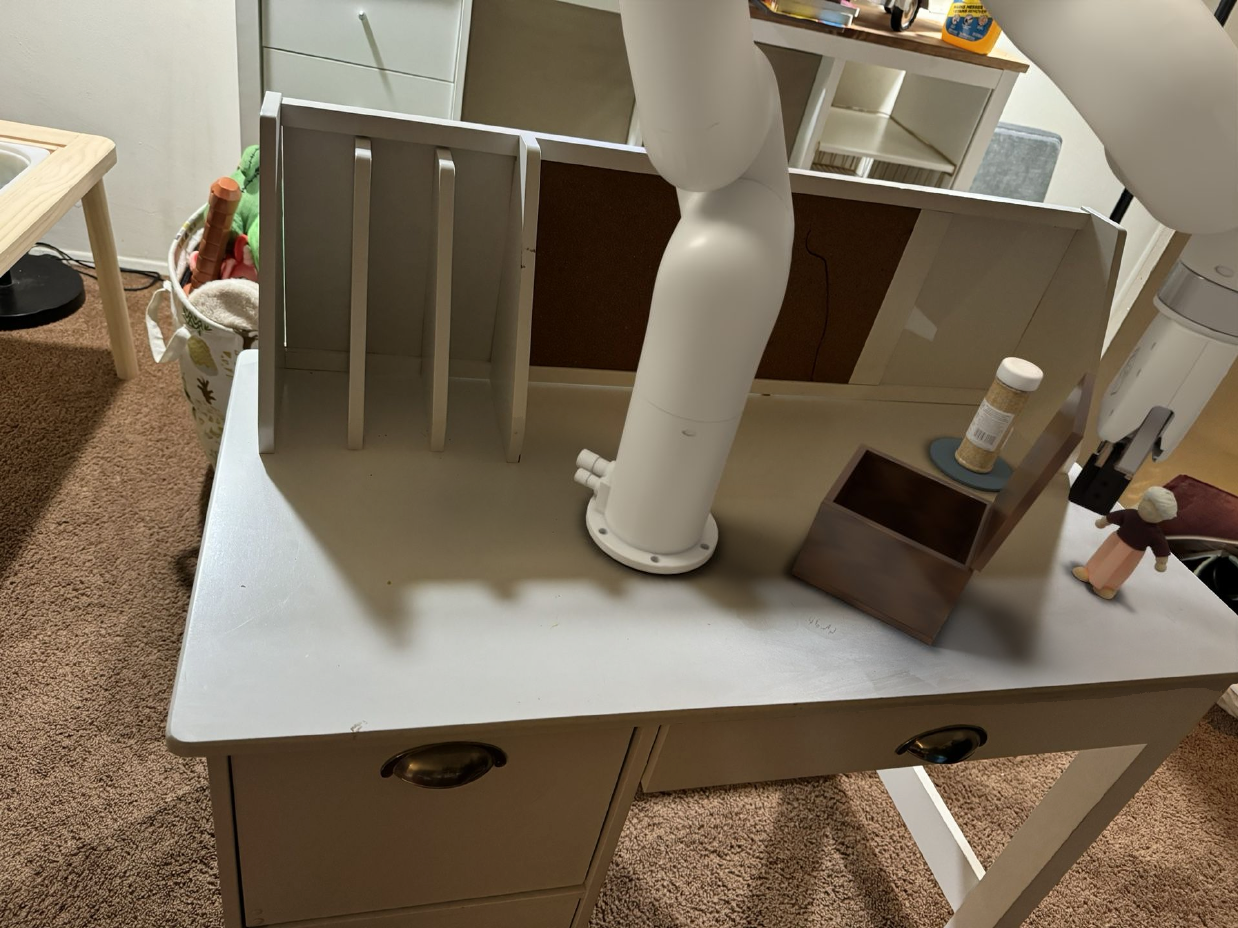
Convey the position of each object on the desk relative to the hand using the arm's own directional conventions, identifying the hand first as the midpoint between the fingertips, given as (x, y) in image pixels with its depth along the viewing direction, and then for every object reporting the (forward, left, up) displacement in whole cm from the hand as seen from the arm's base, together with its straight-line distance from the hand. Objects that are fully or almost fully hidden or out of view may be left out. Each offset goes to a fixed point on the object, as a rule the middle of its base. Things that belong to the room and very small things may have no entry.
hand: (1087, 503), depth 71 cm
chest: (-12, 0, -16) cm, 20 cm away
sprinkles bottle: (-8, +28, -15) cm, 33 cm away
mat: (-8, +28, -16) cm, 33 cm away
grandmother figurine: (+8, +15, -16) cm, 23 cm away
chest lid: (-5, 0, +1) cm, 5 cm away
